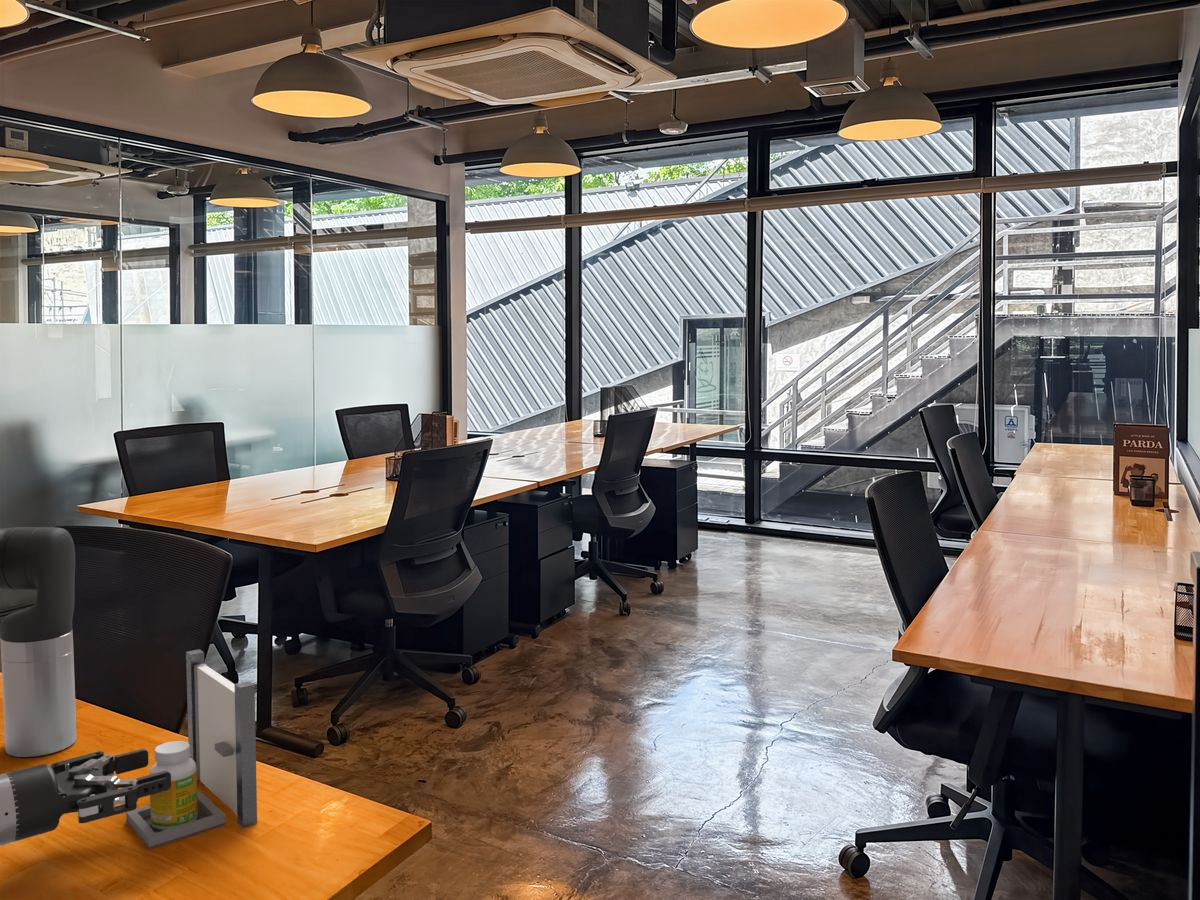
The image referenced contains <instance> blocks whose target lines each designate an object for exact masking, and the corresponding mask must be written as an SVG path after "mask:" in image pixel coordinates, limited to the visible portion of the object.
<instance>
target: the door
mask: <svg viewBox="0 0 1200 900" xmlns="http://www.w3.org/2000/svg"><path fill="white" fill-rule="evenodd" d="M194 680H195V719H196V759H197V780H198V781H200V782H201V783H202V784H203V785H204V786H205V787H206V788H208V789H209V790H210V791H211V792H212V793H213V795H215V796H216V797H217V798H218V799H220V801H221V802H222V803H224V805H226V806H227V807H228V808H229V809H230V810H231V811H232V812H233V813H234V814H235V815H237V779H236V733H235V687H234V684H235V683H233V682H232V681H231V680H229V679H227V678H226V677H224V676H223V675H221V674H220V673H218V672H217V671H216V670H214V669H212V668H210V667H209V666H208V664H206V663H204V664H197V665H194Z"/></svg>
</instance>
